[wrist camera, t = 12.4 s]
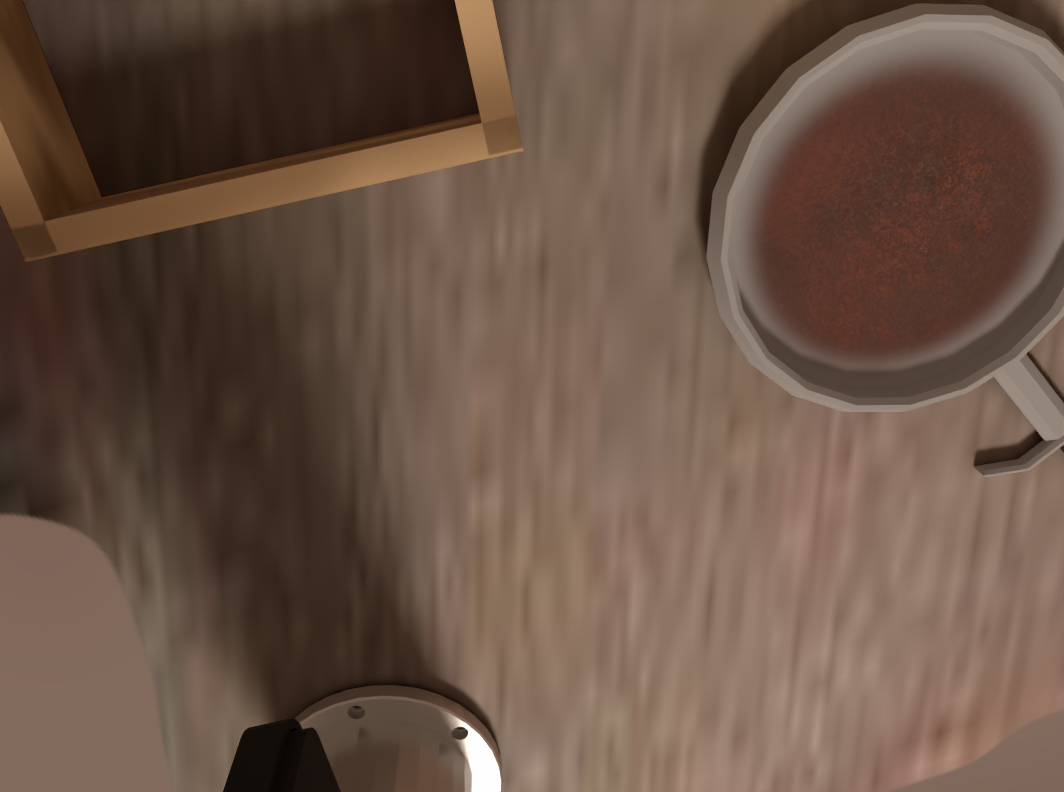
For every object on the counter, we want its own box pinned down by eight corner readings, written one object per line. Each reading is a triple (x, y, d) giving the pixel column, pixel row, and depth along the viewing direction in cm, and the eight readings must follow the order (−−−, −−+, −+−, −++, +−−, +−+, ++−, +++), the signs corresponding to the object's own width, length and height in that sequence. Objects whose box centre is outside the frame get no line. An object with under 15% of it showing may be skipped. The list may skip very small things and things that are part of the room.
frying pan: (988, 620, 43) (626, 230, 34) (957, 586, 46) (614, 215, 36) (1297, 399, 39) (987, -111, 30) (1244, 375, 42) (944, -100, 33)
